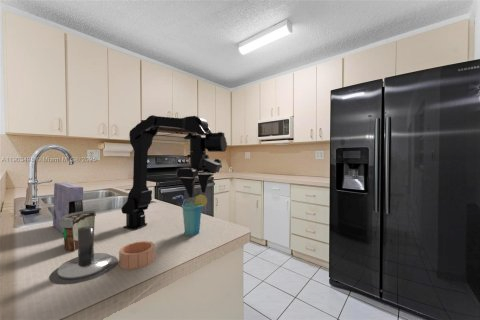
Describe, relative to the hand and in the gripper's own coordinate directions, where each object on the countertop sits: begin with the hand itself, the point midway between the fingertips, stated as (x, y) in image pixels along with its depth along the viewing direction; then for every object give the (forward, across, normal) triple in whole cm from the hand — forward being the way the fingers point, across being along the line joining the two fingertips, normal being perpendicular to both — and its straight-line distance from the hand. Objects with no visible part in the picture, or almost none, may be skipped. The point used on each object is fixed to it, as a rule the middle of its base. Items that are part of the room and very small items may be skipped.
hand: (197, 194), depth 78 cm
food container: (+15, -21, +32) cm, 41 cm away
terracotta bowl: (+15, -23, +6) cm, 28 cm away
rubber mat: (+15, -30, +15) cm, 37 cm away
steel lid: (+14, -30, +15) cm, 37 cm away
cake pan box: (+15, -11, +50) cm, 54 cm away
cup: (+15, 0, +3) cm, 15 cm away
